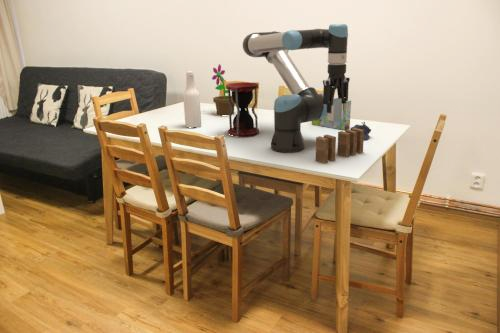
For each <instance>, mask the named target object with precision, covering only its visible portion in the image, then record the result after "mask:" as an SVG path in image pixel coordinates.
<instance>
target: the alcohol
mask: <svg viewBox="0 0 500 333" xmlns="http://www.w3.org/2000/svg"><path fill="white" fill-rule="evenodd" d="M185 76H186V80H185V81H186V82H185V83H186V84H185V86H186V88H185V89H184V91H183V94H182V95H183V96H182V98H183V110H184V123H185V127H186V128H187V127H191V128H190V129H193V128H192V127H199V128H201V127H200V126H202V111H201V110H202V109H201V99H200V98H201V97H200V95H201V94H200V92H199V90H197V89H198V88H196V83H195V77H194V76H195V75H194V71H193V70H187V71H186V72H185Z"/></svg>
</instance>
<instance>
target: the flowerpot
mask: <svg viewBox="0 0 500 333" xmlns="http://www.w3.org/2000/svg"><path fill="white" fill-rule="evenodd" d="M212 70H213V71H212V72H214V75H213V76H212V77H211V80H216V81H215V82H216V83H215V84H216V87H215V88H214V89H215V90H218V91H221V90H222V91H223V95H220V96H215V97H213V98H212V99H213V103H215V109H216V114H218V115H217V116H219V115H230V113H231V111H232V108H231V105H230V104H229V100H228V95H226V94H228V89H226V84H225V80H224V79H225V78H224V77H223V75H224V74H225V73H226V70H223V69H222V65H221V64H218V66H217V68H216V67H213V68H212ZM220 81H221V82H222V84H220ZM230 96H231V103H232V104H233V106H234V107H235V106H236V104H235V103H234V101H233V99H232V95H230ZM232 114H233V115H234V114H235V111H234V112H233V113H232Z"/></svg>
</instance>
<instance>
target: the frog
mask: <svg viewBox="0 0 500 333" xmlns="http://www.w3.org/2000/svg"><path fill="white" fill-rule="evenodd" d="M353 128H358V129H362V130H364V141H365V140H366V141H367V140H368V139H370V135H369V134H370V133H371V132H372V129H371V128H370V127H369V126H368V125H367V124H366V122H365V121H363V122H361V125H360V124H355V125H354V126H352V127H350V130H352V129H353Z"/></svg>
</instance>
